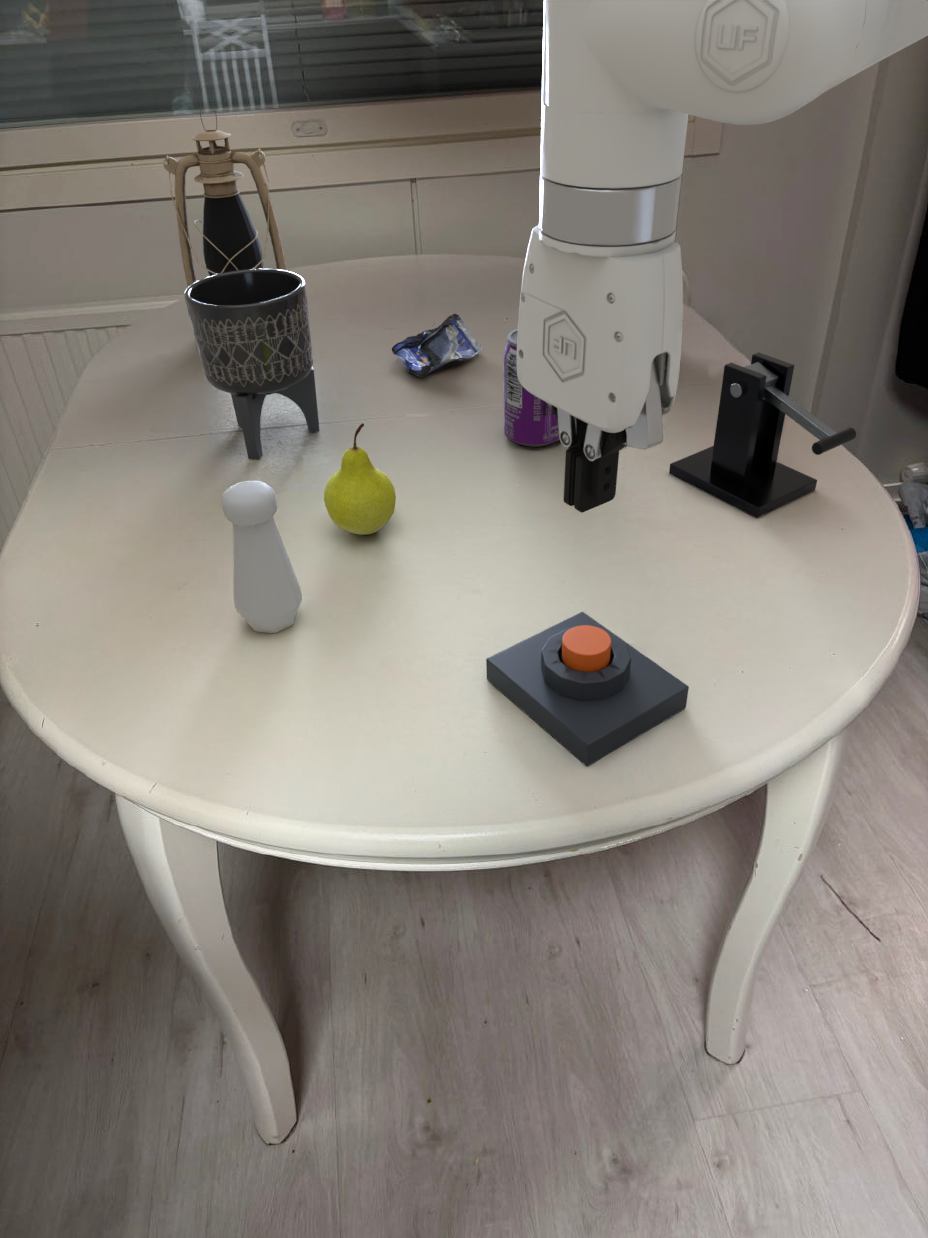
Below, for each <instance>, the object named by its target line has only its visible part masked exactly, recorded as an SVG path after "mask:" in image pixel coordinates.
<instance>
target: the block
mask: <svg viewBox="0 0 928 1238" xmlns="http://www.w3.org/2000/svg"><path fill="white" fill-rule="evenodd" d="M582 625H589V626H595V627H598V628H601V629H603V630H604V631H605V632H607V633H608V635H609V636H610V638H611V652H610V661H609V663H608V665H607V666H606V667H605V668H604V669H602V670H600V671H596V672H586V673H584V672H580V671H576V670H572V669H570V668H568V667H567V666H566V665H565V664H564V662H563V660H562V639H563V636H564V634H565V633H566V632H567V631H568V630H569V629H571V628H573V627H576V626H582ZM485 667H486V669H485V670H486V681H488V682H489V683H490V684H491V685H493V686H494V688H496V689H497V690H498V691H499V692H500V693H502V694H503V695H504V696H505V697H506V698H507V699H509V700H510V701H511V702H512V703H513V704H514V705H516V706H517V707H518V708H519V709H520V710H521V711H523V713H525V714H526V715H527V716H528V717H529V718H531V719H532V720H533V721H534V722H535V723H536V724H537V725H538V726H540V727H541V728H542V729H543V730H544V731H545V732H547V734H549V735H550V737H552V738H553V739H554V740H556V741H557V742H558V743H559V744H560V745H562V746H563V747H564V748H565V749H566V750H567V751H568V752H570V753H571V754H572V755H573V756H574V757H575V758H576V759H578V760H579V761H580V762H581V763H582V764H583V765H585V766H586V767H589V766H590V765H592V764H593V763H596V762H597V761H599V760H601V759H602V758H604V757H605V756H608V755H609V754H611V753H612V752H614V751H615V750H617V749H619V748H621V747H623V746H624V745H626V744H628V743H629V742H631V741H633V740H634V739H636V738H638V737H639V736H641V735H643V734H645V733H646V732H648V731H649V730H651V729H653V728H654V727H656V726H657V725H659V724H662V723H663V722H665V721H666V720H668V719H670V718H672V717H673V716H675V715H677V714H679V713H680V712H681V711H683V710H685V709H687V702H688V697H689V689H690V686H689V685H687V684H686V683H685V682H683V681H681V680H680V679H679V678H678V677H676V676H675V675H674V674H672V673H671V672H669V671H668V670H666V669H665V668H664V667H662V666H660V665H659V664H658V663H656V662H655V661H653V660H652V659H650V658H649V657H648V656H646V655H645V654H643V653H642V652H641V651H639V650H637V649H636V648H635V647H633V646H632V645H631V644H629V643H628V642H627V641H625V640H623V638H621V637H619V636H618V635H617V634H615V633H614V632H613V631H611V630H610V629H608V628H607V627H606V626H604V625H602V624H601V623H600V622H598V621H597V620H596V619H594V618H592V617H591V616H590V615H588V614H587V613H585V612H584V611H580V612H578V613H576V614H574V615H572V616H570V617H568V618H566V619H564V620H562V621H560V622H557V623H556V624H554V625H552V626H549V627H548V628H546V629H544V630H542V631H539V632H538V633H536V634H533V635H531V636H530V637H528V638H526V639H523V640H521V641H519V642H518V643H515V644H513V645H511V646H509V647H506V648H505V649H503V650H501V651H499V652H497V653H495V654H492V655H490V656H489V657H486V659H485Z"/></svg>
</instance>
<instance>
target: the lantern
mask: <svg viewBox="0 0 928 1238" xmlns="http://www.w3.org/2000/svg"><path fill="white" fill-rule="evenodd" d="M207 108H208V109H211V110H213V112H214V115H215V124H216V126H215V127H216V128H213V129H206V128H205V126H204V122H203V119H202V111H203V110H205V109H207ZM199 116H200V117H199V118H200V121H201V124H202V127H203V130H204V131H200V132H199V133H197V134H196V135H193V136H191V138H190V139H191V140H192V141H195V145H196V149H197V150H196V151H197V153H196V154H189V155H185V156H183V157H182V158H180V159H179V160H178V159H176V158H174V157H172V156H169V155H167V154H166V157H165V159H164V160H163V162H162V164H163V165H162V166H163V168H164V169H165V170H166V171H167V172H168V178H169V187H170V188H169V189H170V197H171V200H172V203H173V206H174V209H175V211H176V212H175V213H176V223H177V231H178V240H179V246H180V254H181V260H182V261H181V262H182V267H183V272H184V277H185V278H184V279H185V282H186V286H187V288H188V287H189V286H190V285H192V284H193V283H195V282H197V278H196V272H195V266H194V260H193V255H194V258H195V259H196V261H197V263H198V265H199V266H201V268H203V269H204V270H206V271H207V273H208V275H209V277H210V276H213V275H216V274H221V273H225V272H231V271H237V270H247V269H264V259H265V256H266V251H267V245H268V237H269V238H270V243H271V246H272V247H271V248H272V251H273V256H274V261H275V266H276V267H275V268H276V270H284V271H288V267H287V262H286V256H285V251H284V247H283V242H282V238H281V233H280V229H279V226H278V220H277V218H276V213H275V210H274V206H273V202H272V199H271V196H270V195H271V194H270V189H269V188H270V187H269V185H270V180H269V176H268V173H267V168H266V165H265V163H266V154H265V152H263V151H262V150H261V148H258V150H255V151H254V152H252V154H250V153H247V152H244V151H232V150H231V149H230V143H229V138H230V137H232V134H231V133H230V132H226V131H225V132H224V131H222V130H219V129H218V115H217V112H216V110H215V109H214V108H213V107H211V106H203V107H202V108H201V109H200V111H199ZM221 140H224V146H223V145H217V141H221ZM201 142H208V144H209V146H206V147H203V146H202V145H201ZM234 164H242V165H245V166H246V167H247V169H249V172H250V175H251V177H252V179H253V182H254V184H255V188H256V191H257V194H258V197H259V201H260V203H261V207H262V211H263V215H264V218H265V222H266V235H265V236H266V237H265V245H264V249H263V251H262V247H261V244H260V240H259V237H258V235H259V233H258V230H257V228H256V227H254V224H253V221H252V219H251V217H250V214H249V210H248V209H247V207H246V205H245V202H244V200H243V198H242V195H241V194H240V193H241V190H240V189H238V183H237V182H238V180H240V179H242V178H244V173H243V172H241V171H237V170H236V169H235V165H234ZM262 166H263V169H264V173H265V177H266V180H265V177H264V174H263V172H262V170H261V167H262ZM194 167H199V171H200V173H199V174H197V175H196V176H194V177H193V181H194V182H195V183H199V184H202V186H203V191H204V192H203V194H202V195H203V196H204V198H203V211H202V220H198V219H196V220H195V219H194V222H193V224H194V227H195V228H196V230H197V231H198V232H199V233H200V234H201V236H202V252H203V260H204V263H205V266H204V265H203V264H202V263H201V262H200V261H199V259H198V257H197V255H196V253H195V251H194V248H193V246H192V244H191V240H190V239H191V238H190V230H189V219H188V209H187V208H188V207H187V194H186V193H187V192H186V185H187V183H186V182H187V181H186V180H187V178H186V177H187V172H188V171H189V169H190V168H194ZM171 174H172V175H173V176H174V196H173V185H172V178H171V177H172V176H171ZM266 181H267V182H266ZM196 222H199V223H201V224H202V232H201V230H200V229H199V228H198V227H197V223H196ZM192 253H193V254H192Z"/></svg>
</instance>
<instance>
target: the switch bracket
mask: <svg viewBox="0 0 928 1238" xmlns="http://www.w3.org/2000/svg"><path fill="white" fill-rule="evenodd" d="M757 362H759V363H760V364H762V365H763V366H764V367H766V368H767V369H768V370H770V371H771V372H772V373H774V374H775V375H776V376H778V380H777V382H776V384H775V387H776V388H778V389H779V390H780V391H782V392H783V393H784V394H786V395H787V396H788V397H789V396H790V392H791V386H792V381H793V375H794V369H795V364H793V363H790V362H787V361H784V360H781V359H779V358H776V357H773V356H770V355H768V354H766V353H762V352H756V353H753V354H752V355H751V360H750V365H751V364H754V363H757ZM745 367H746V366H742V365H739V364H737V363H734V362H729V363H725V364H724V367H723V373H722V379H721V380H722V381H721V387H720V394H719V395H720V396H719V403H718V411H717V417H716V426H715V432H714V440H713V445H712V446H709V447H706V448H704V449H702V450H700V451H697V452H694V453H693V454H690V455H688V456H685V457H683V458H681V459H677V460H675V461H673V462H671V463H669V469H668V474H669V475H670V476H673V477H675V478H677V479H679V480H681V481H683V482H685V483H687V484H689V485H690V486H693V487H694V488H697V489H698V490H701V491H702V492H705V493H706V494H708V495H709V496H712V497H714V498H716V499H718V500H720V501H722V502H724V503H725V504H727V505H730V506H732V507H734V508H735V509H738V510H740V511H741V512H743V513H746V514H748V515H749V516H751V517H753V518H755V519H759V518H760V517H762V516H765V515H767V514H769V513H771V512H773V511H775V510H777V509H779V508H781V507H783V506H785V505H787V504H789V503H791V502H793V501H795V500H798V499H800V498H801V497H804V496H806V495H808V494H810V493H812V492H814V491H816V490H817V489H816V488H817V484H818V479H816V478H814V477H811V476H810V475H807V474H805V473H803V472H800V471H798V470H796V469H794V468H792V467H790V466H787V465H785V464H783V463H781V462H779V461H778V457H779V452H780V451H779V450H780V446H781V441H782V436H783V435H782V434H783V429H784V424H785V420H786V414H785V413H783V412H782V411H781V410H779V409H778V408H777V407H775V406H774V405H773V404H772V403H770V402H769V401H768V400H766V399H764V400H763V395H764V389H765V383H766V377H767V376H766V375H763V374H760V373H758V372H755V371H753V370H750V369H747V368H745Z"/></svg>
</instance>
